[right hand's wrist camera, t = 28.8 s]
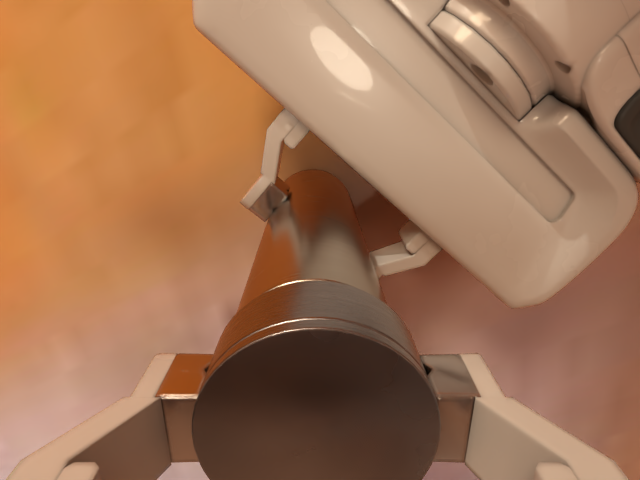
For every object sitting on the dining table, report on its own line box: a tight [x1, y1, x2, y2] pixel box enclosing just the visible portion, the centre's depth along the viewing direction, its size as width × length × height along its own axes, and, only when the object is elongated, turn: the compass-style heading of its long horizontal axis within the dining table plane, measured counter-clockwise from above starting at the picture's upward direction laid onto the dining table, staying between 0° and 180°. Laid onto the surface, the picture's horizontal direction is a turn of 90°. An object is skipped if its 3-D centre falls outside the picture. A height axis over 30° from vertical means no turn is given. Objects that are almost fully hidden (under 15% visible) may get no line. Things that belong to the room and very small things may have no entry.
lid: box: [192, 281, 441, 480], centre depth 10 cm, size 5×5×2 cm
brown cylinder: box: [236, 169, 387, 314], centre depth 18 cm, size 4×4×17 cm
